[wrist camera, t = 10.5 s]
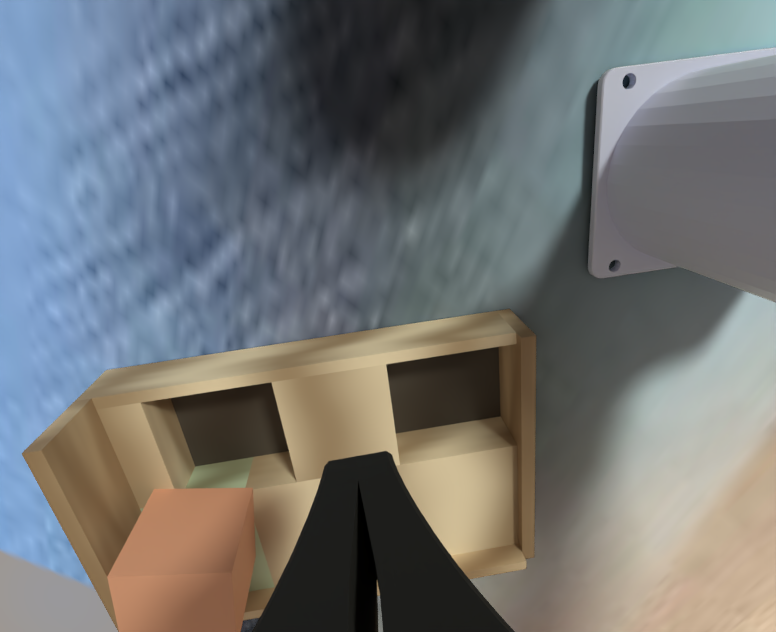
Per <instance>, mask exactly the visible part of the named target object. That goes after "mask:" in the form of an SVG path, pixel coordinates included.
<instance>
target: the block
mask: <svg viewBox="0 0 776 632" xmlns="http://www.w3.org/2000/svg"><path fill="white" fill-rule="evenodd" d="M255 558H256V549H255V525H254V501H253V488H193V489H154V490H153V492H152V494H151V496H150V497H149V499H148V501H147V503H146V505H145V507H144V509H143V511H142V512H141V514H140V516H139V518H138V520H137V522H136V524H135V526H134V528H133V529H132V531H131V533H130V535H129V537H128V539H127V541H126V543H125V544H124V546H123V548H122V550H121V552H120V554H119V556H118V558H117V559H116V561H115V563H114V565H113V567H112V569H111V571H110V573H109V575H108V576H107V578H108V583H109V588H110V592H111V597H112V602H113V606H114V611H115V616H116V620H117V625H118V630H119V632H241V627H242V622H243V618H244V613H245V608H246V603H247V598H248V593H249V588H250V583H251V578H252V573H253V568H254V563H255Z"/></svg>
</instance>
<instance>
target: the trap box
mask: <svg viewBox="0 0 776 632" xmlns="http://www.w3.org/2000/svg"><path fill="white" fill-rule="evenodd" d="M535 423H536V335H535V334H534V333H533V332H532V331H531V330H530V329H529V328H528V327H527V326H526V325H525V324H524V323H523V322H522V321H521V320H520V319H519V318H518V317H517V316H516V315H515V314H514V313H513V312H512V311H511V310H510V309H505V310H499V311H492V312H485V313H479V314H472V315H466V316H459V317H453V318H446V319H439V320H433V321H426V322H420V323H413V324H407V325H400V326H393V327H387V328H380V329H374V330H367V331H361V332H354V333H347V334H341V335H334V336H328V337H321V338H315V339H308V340H301V341H295V342H288V343H282V344H275V345H269V346H262V347H255V348H249V349H242V350H236V351H229V352H223V353H216V354H209V355H203V356H196V357H190V358H183V359H177V360H170V361H163V362H157V363H150V364H144V365H137V366H131V367H124V368H117V369H111V370H106V371H105V372H104V373H103V374H102V375H101V376H100V377H99V378H98V379H97V380H96V381H95V382H94V383H93V384H92V385H91V386H90V387H89V388H88V389H87V390H86V391H85V392H84V393H83V394H82V395H81V396H80V397H79V398H78V399H77V400H76V401H75V402H73V403H72V404H71V405H70V406H69V407H68V408H67V409H66V410H65V411H64V412H63V413H62V414H61V415H60V416H59V417H58V418H57V419H56V420H55V421H54V422H53V423H52V424H51V425H50V426H49V427H48V428H47V429H46V430H45V431H44V432H43V433H42V434H41V435H40V436H39V437H38V438H37V439H36V440H35V441H34V442H33V443H32V444H31V445H30V446H29V447H28V448H27V449H26V450H25V451H24V452H23V453H22V455H23V457H24V459H25V461H26V462H27V464H28V466H29V468H30V470H31V472H32V473H33V475H34V477H35V479H36V481H37V483H38V485H39V486H40V488H41V490H42V492H43V494H44V496H45V497H46V499H47V501H48V503H49V505H50V507H51V508H52V510H53V512H54V514H55V516H56V518H57V519H58V521H59V523H60V525H61V527H62V529H63V531H64V532H65V534H66V536H67V538H68V540H69V542H70V543H71V545H72V547H73V549H74V551H75V553H76V554H77V556H78V558H79V560H80V562H81V564H82V566H83V567H84V569H85V571H86V573H87V575H88V577H89V578H90V580H91V582H92V584H93V586H94V588H95V589H96V591H97V593H98V595H99V597H100V599H101V600H102V602H103V604H104V606H105V608H106V610H107V611H108V613H109V615H110V617H111V619H112V621H113V623H114V624H115V626H116V628H117V630H118V625H117V620H116V616H115V611H114V606H113V602H112V597H111V592H110V588H109V583H108V578H107V576H108V575H109V573H110V571H111V569H112V567H113V565H114V563H115V561H116V559H117V558H118V556H119V554H120V552H121V550H122V548H123V546H124V544H125V543H126V541H127V539H128V537H129V535H130V533H131V531H132V529H133V528H134V526H135V524H136V522H137V520H138V518H139V516H140V514H141V512H142V511H143V509H144V507H145V505H146V503H147V501H148V499H149V497H150V496H151V494H152V492H153V490H154V489H193V488H253V501H254V525H255V549H256V558H255V563H254V568H253V573H252V578H251V583H250V588H249V593H248V598H247V603H246V608H245V613H244V618H243V620H248V619H254V618H259V617H260V616H261V615H262V613H263V611H264V609H265V607H266V605H267V603H268V601H269V599H270V598H271V595H272V593H273V591H274V589H275V587H276V585H277V583H278V581H279V579H280V577H281V575H282V573H283V571H284V569H285V567H286V565H287V563H288V561H289V559H290V556H291V554H292V552H293V550H294V548H295V545H296V543H297V540H298V538H299V536H300V533H301V531H302V529H303V526H304V524H305V522H306V519H307V517H308V514H309V512H310V509H311V506H312V504H313V501H314V498H315V495H316V493H317V490H318V487H319V483H320V480H321V477H322V473H323V469H324V466H325V465H326V464H327V463H328V461H332V460H338V459H343V458H349V457H354V456H360V455H366V454H371V453H377V452H382V451H387V452H389V453H391V454H392V456H393V459H394V462H395V465H396V467H397V470H398V472H399V474H400V476H401V478H402V480H403V482H404V484H405V486H406V488H407V489H408V491H409V493H410V495H411V497H412V498H413V500H414V502H415V503H416V505H417V507H418V508H419V510H420V511H421V513H422V514H423V516H424V517H425V519H426V521H427V522H428V524H429V525H430V527H431V528H432V530H433V531H434V533H435V534H436V536H437V537H438V538H439V540H440V541H441V543H442V544H443V546H444V547H445V548H446V550H447V551H448V552H449V554H450V555H451V556H452V558H453V559H454V560H455V562H456V563H457V564H458V566H459V567H460V568H461V569H462V571H463V572H464V573H465V575H466V576H467V577H468V578H469V579H473V578H479V577H484V576H490V575H495V574H500V573H506V572H511V571H517V570H522V569H526V559H528V558H534V537H535ZM377 596H380V592H379V587H378V582H377ZM118 632H119V630H118Z"/></svg>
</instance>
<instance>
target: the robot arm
mask: <svg viewBox="0 0 776 632" xmlns="http://www.w3.org/2000/svg"><path fill="white" fill-rule="evenodd" d="M625 75H627V76H628V77H629V80H630V83H629V86H628V87H627V88H626V89H625V88H624V87H623V84H622V81H623V78H624V77H625ZM613 260H615V262H616V263H615V266H614V267H613V268H611V269H609V264H610V263H611V262H612V261H613ZM675 267H681V268H684V269H687V270H690V271H692V272H695V273H698V274H700V275H703V276H706V277H708V278H711V279H714V280H716V281H719V282H722V283H724V284H727V285H730V286H733V287H735V288H738V289H741V290H743V291H746V292H749V293H751V294H754V295H757V296H759V297H762V298H765V299H767V300H770V301H773V302H776V47H775V48H767V49H760V50H752V51H744V52H736V53H728V54H720V55H712V56H704V57H696V58H688V59H680V60H672V61H664V62H656V63H648V64H640V65H633V66H625V67H617V68H613V69H610V70H607V71H606V72H604V73H603V74H602V75H601V77H600V79H599V82H598V89H597V107H596V126H595V144H594V163H593V181H592V199H591V218H590V236H589V255H588V271H589V273H590V274H591V275H593V276H595V277H597V278H608V277H615V276H621V275H628V274H635V273H641V272H648V271H655V270H661V269H668V268H675ZM377 582H378V587H379V592H380V599H381V610H382V621H383V632H514V630H513V629H512V628H511V627H510V626H509V625H508V624H507V623H506V622H505V621H504V619H503V618H502V617H501V616H500V615H499V614H498V613H497V612H496V610H495V609H494V608H493V607H492V606H491V605H490V604H489V602H488V601H487V600H486V599H485V598H484V597H483V595H482V594H481V593H480V592H479V591H478V589H477V588H476V587H475V586H474V585H473V583H472V582H471V581H470V580H469V578H468V577H467V576H466V575H465V573H464V572H463V571H462V569H461V568H460V567H459V566H458V564H457V563H456V562H455V560H454V559H453V558H452V556H451V555H450V554H449V552H448V551H447V550H446V548H445V547H444V546H443V544H442V543H441V541H440V540H439V538H438V537H437V536H436V534H435V533H434V531H433V530H432V528H431V527H430V525H429V524H428V522H427V521H426V519H425V517H424V516H423V514H422V513H421V511H420V510H419V508H418V507H417V505H416V503H415V502H414V500H413V498H412V497H411V495H410V493H409V491H408V489H407V488H406V486H405V484H404V482H403V480H402V478H401V476H400V474H399V472H398V470H397V467H396V465H395V462H394V459H393V456H392V454H391V453H389V452H387V451H382V452H377V453H371V454H366V455H360V456H354V457H349V458H343V459H338V460H332V461H328V463H327V464H326V465H325V466H324V469H323V473H322V477H321V480H320V483H319V487H318V490H317V493H316V495H315V498H314V501H313V504H312V506H311V509H310V512H309V514H308V517H307V519H306V522H305V524H304V526H303V529H302V531H301V533H300V536H299V538H298V540H297V543H296V545H295V548H294V550H293V552H292V554H291V556H290V559H289V561H288V563H287V565H286V567H285V569H284V571H283V573H282V575H281V577H280V579H279V581H278V583H277V585H276V587H275V589H274V591H273V593H272V595H271V598H270V599H269V601H268V603H267V605H266V607H265V609H264V611H263V613H262V615H261V616H260V618H259V620H258V622H257V624H256V626H255V627H254V629H253V631H252V632H378V603H377Z"/></svg>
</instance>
